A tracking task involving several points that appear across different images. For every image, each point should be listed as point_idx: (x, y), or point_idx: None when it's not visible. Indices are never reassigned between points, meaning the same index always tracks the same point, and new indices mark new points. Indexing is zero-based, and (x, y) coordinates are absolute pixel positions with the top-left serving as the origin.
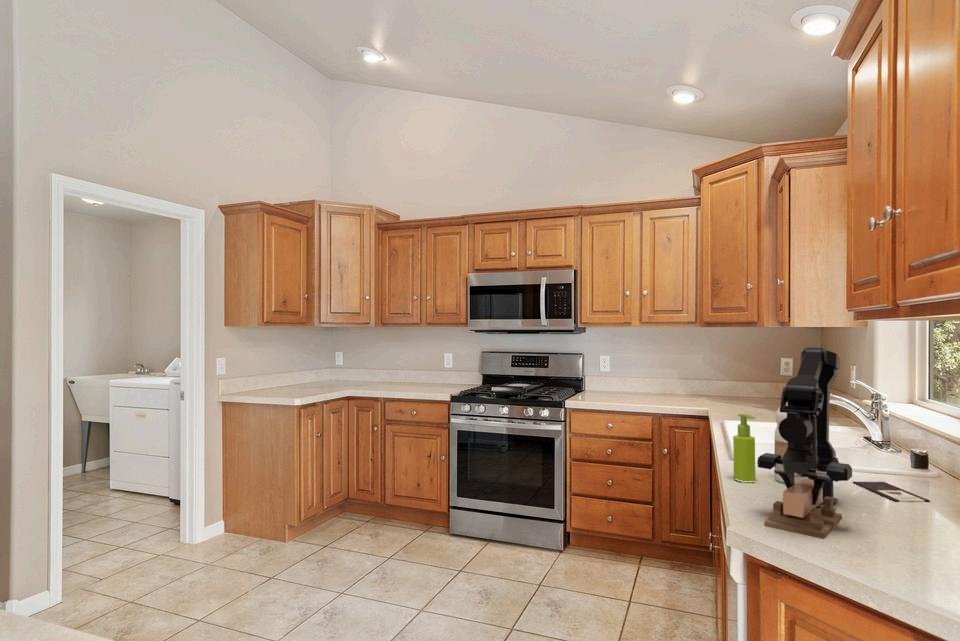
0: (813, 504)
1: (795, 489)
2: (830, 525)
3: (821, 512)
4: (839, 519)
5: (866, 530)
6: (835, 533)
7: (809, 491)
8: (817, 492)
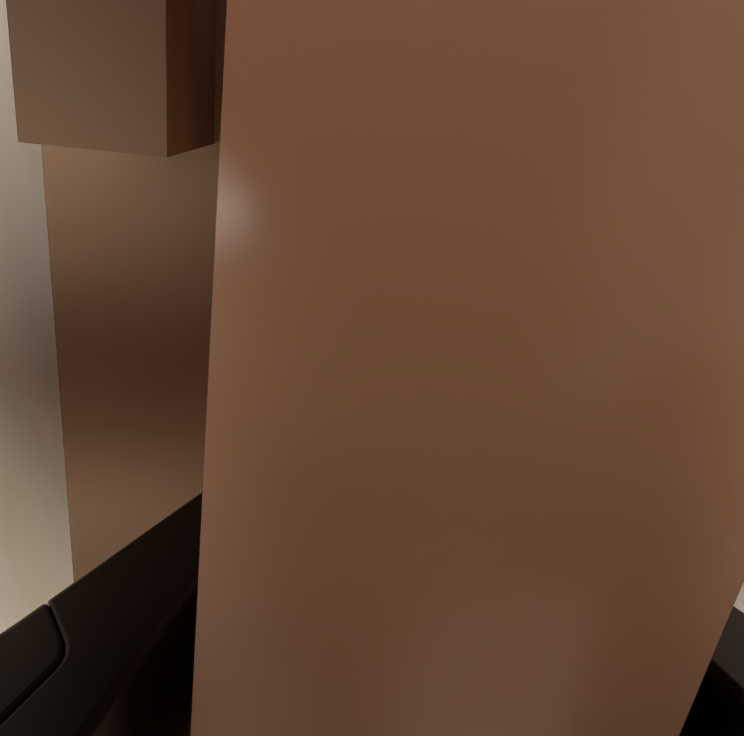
0: None
1: (617, 317)
2: (63, 278)
3: None
4: None
5: None
6: (7, 167)
7: (210, 454)
8: (69, 603)
